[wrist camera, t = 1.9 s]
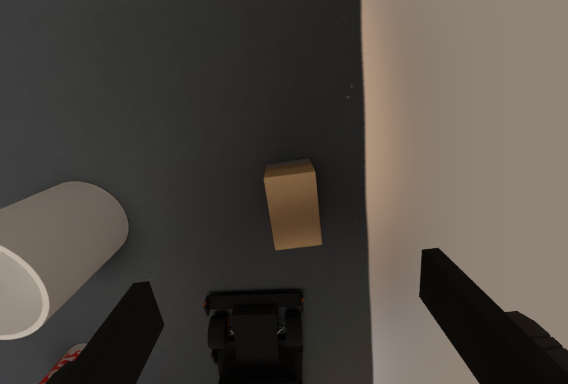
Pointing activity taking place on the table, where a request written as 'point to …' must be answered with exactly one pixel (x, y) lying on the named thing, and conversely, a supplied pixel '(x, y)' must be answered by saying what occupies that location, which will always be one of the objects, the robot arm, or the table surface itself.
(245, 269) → the table surface
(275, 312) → the toy truck
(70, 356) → the beverage cup
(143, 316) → the robot arm
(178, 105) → the table surface
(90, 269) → the cup
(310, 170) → the eraser
